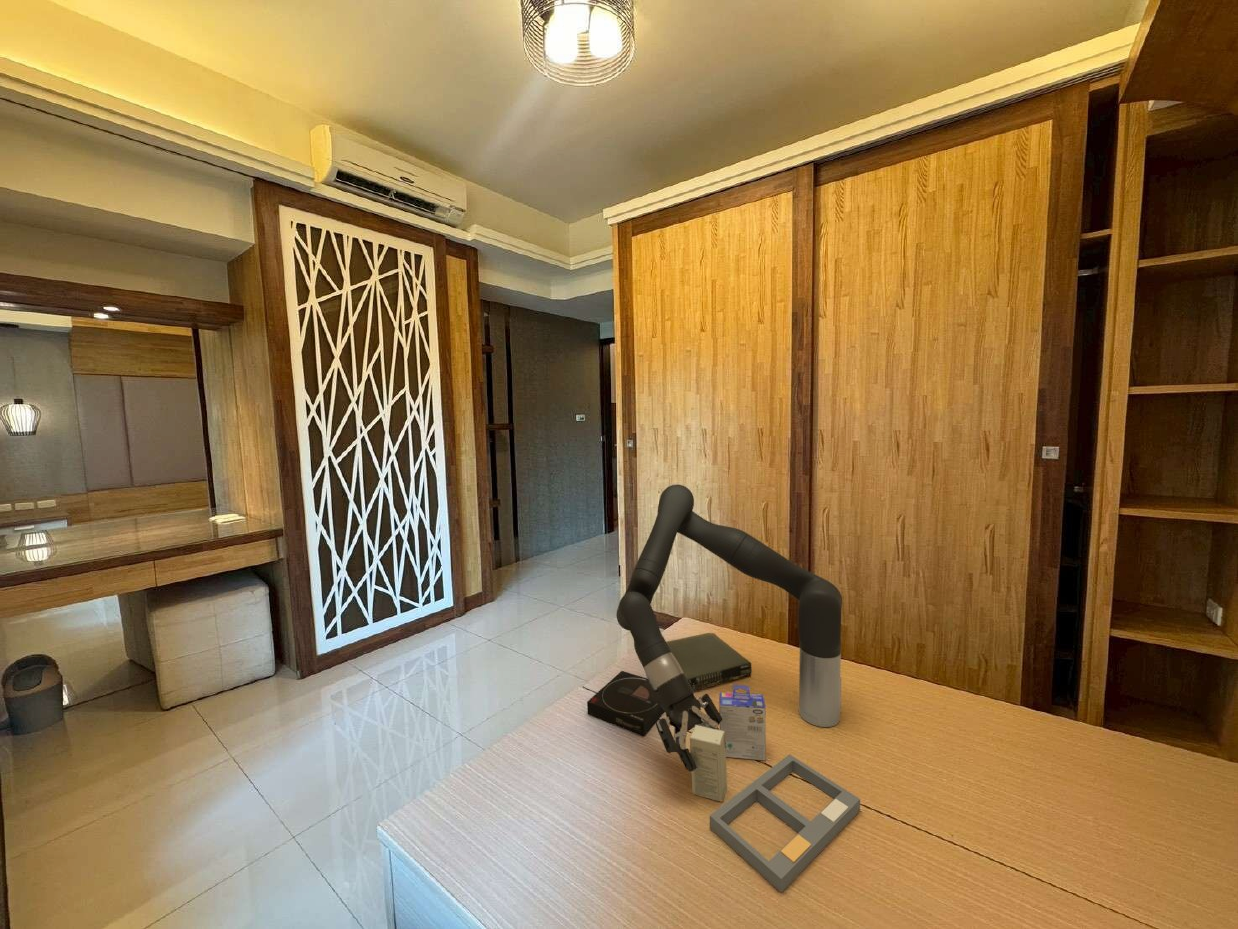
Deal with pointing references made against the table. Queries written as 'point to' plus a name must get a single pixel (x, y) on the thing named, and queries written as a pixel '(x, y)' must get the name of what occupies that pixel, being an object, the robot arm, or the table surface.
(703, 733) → the skincare box
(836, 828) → the grey divided frame
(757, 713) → the ink cartridge box
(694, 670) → the network switch
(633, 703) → the portable cd player
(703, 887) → the table surface
